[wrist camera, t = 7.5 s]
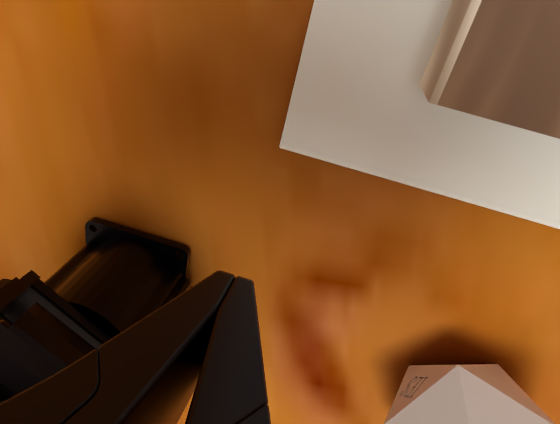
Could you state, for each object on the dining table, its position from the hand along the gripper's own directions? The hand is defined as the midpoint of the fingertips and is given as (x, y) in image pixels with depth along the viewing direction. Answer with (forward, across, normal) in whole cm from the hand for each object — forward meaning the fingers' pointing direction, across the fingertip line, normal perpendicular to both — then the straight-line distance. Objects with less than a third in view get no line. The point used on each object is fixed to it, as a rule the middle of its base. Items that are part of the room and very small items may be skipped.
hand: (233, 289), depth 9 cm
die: (+12, -13, +13) cm, 22 cm away
